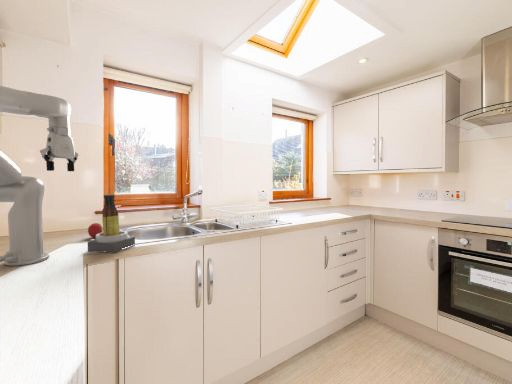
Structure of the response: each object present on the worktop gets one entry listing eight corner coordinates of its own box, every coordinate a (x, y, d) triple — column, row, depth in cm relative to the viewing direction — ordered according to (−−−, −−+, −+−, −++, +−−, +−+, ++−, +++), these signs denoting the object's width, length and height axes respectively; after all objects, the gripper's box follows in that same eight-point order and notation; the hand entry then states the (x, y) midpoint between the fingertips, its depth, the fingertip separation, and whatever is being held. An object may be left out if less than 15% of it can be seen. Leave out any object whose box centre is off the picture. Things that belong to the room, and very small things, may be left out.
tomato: (85, 222, 132) (102, 218, 136) (88, 229, 138) (104, 225, 142) (88, 235, 129) (105, 231, 133) (91, 242, 135) (107, 238, 139)
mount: (114, 252, 108) (114, 237, 107) (87, 251, 110) (87, 236, 110) (134, 245, 121) (134, 231, 120) (110, 243, 123) (110, 230, 123)
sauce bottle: (122, 237, 118) (121, 194, 117) (113, 241, 112) (112, 195, 111) (109, 237, 118) (107, 194, 117) (99, 240, 112) (98, 195, 111)
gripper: (47, 128, 106) (48, 170, 107) (83, 135, 123) (84, 171, 124) (32, 129, 108) (34, 170, 109) (70, 135, 125) (71, 171, 126)
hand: (61, 170), depth 116 cm, fingers open, 9 cm apart
